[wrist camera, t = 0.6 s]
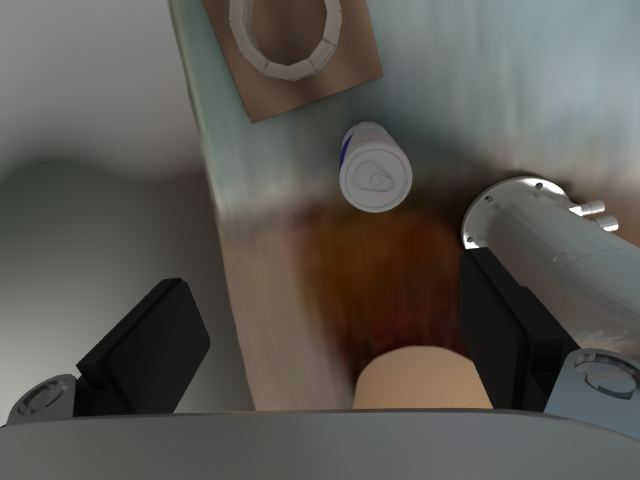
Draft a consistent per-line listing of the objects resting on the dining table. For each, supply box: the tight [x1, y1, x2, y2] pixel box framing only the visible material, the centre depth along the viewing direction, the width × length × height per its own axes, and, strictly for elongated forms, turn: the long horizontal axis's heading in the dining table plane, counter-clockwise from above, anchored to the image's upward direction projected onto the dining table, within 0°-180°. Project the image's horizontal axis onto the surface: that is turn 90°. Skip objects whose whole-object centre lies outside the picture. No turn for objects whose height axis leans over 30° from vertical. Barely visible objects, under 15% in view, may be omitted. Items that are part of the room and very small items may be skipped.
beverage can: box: [339, 121, 412, 212], centre depth 31 cm, size 6×6×15 cm
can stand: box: [203, 0, 383, 124], centre depth 31 cm, size 15×15×4 cm
